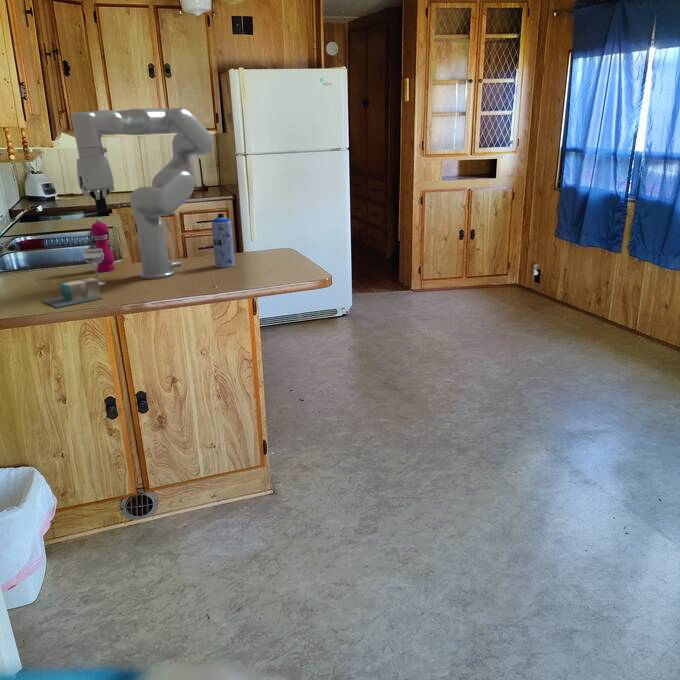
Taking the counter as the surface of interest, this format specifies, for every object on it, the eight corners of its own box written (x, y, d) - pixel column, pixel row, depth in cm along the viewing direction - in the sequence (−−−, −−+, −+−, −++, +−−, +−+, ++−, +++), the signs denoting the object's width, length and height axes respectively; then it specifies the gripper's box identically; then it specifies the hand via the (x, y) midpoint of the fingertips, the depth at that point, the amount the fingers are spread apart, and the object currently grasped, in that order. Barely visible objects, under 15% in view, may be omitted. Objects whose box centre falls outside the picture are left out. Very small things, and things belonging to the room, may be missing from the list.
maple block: (91, 277, 198) (60, 283, 191) (97, 280, 194) (66, 286, 188) (93, 292, 199) (63, 299, 193) (100, 295, 196) (69, 301, 189)
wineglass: (107, 284, 211) (102, 250, 207) (87, 286, 209) (81, 252, 206) (109, 280, 217) (103, 247, 213) (88, 282, 216) (83, 249, 212)
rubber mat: (86, 292, 201) (86, 291, 201) (101, 298, 193) (101, 297, 193) (42, 301, 192) (42, 300, 192) (57, 308, 184) (56, 307, 184)
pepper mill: (118, 270, 234) (110, 218, 227) (98, 273, 230) (90, 220, 224) (113, 267, 240) (105, 216, 233) (94, 270, 236) (85, 218, 229)
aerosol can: (210, 266, 235) (205, 214, 229) (225, 262, 241) (220, 211, 235) (225, 268, 231) (220, 215, 224) (239, 264, 237) (235, 212, 230)
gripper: (107, 151, 201) (117, 207, 208) (62, 155, 191) (75, 214, 198) (118, 151, 196) (128, 208, 203) (73, 155, 186) (86, 215, 193)
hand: (102, 211), depth 200 cm, fingers closed
